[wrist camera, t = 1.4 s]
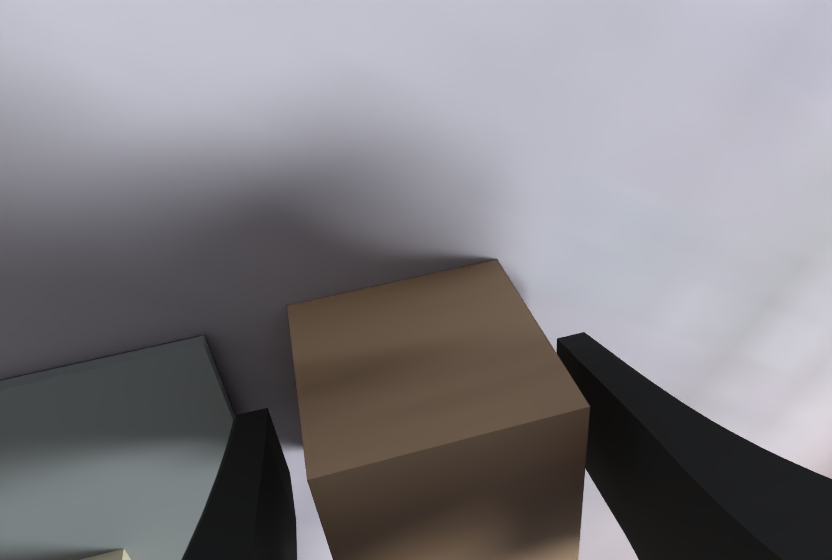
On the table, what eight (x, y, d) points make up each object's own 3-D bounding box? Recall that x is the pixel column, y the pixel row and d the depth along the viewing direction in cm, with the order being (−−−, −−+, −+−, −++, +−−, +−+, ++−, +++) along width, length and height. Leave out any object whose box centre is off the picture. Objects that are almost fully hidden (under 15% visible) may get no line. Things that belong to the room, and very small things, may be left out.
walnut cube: (501, 402, 16) (577, 563, 13) (327, 447, 16) (355, 628, 12) (495, 257, 14) (589, 406, 10) (286, 303, 13) (306, 479, 10)
